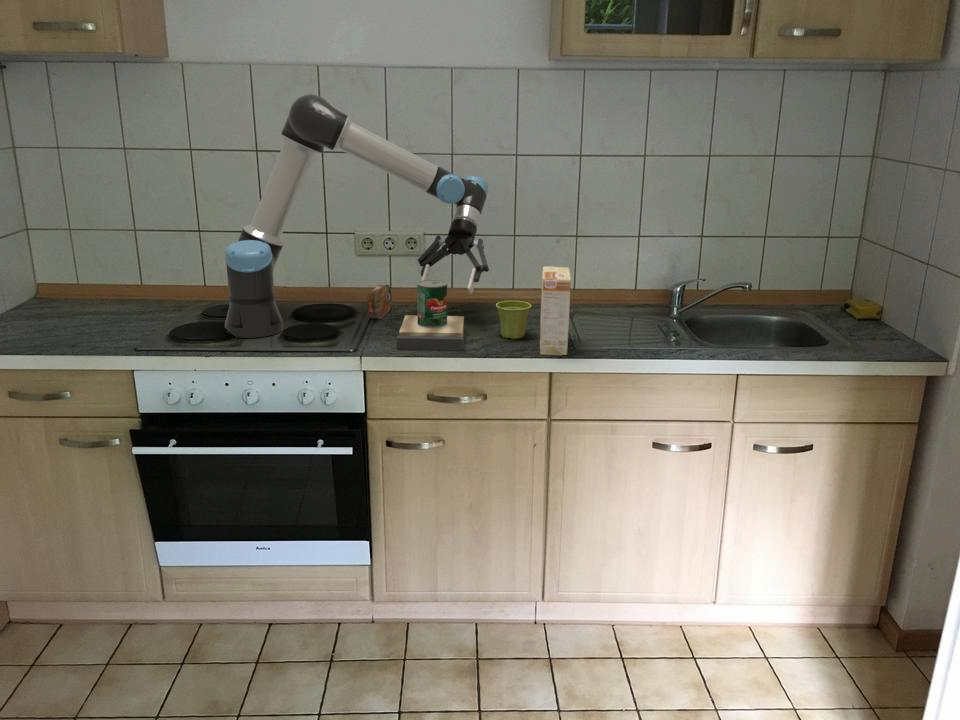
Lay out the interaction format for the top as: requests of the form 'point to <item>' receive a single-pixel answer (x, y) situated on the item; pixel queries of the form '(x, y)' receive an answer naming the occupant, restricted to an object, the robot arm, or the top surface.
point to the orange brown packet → (379, 301)
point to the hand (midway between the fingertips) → (446, 288)
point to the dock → (431, 335)
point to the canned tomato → (432, 303)
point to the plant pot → (513, 318)
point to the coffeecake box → (555, 310)
